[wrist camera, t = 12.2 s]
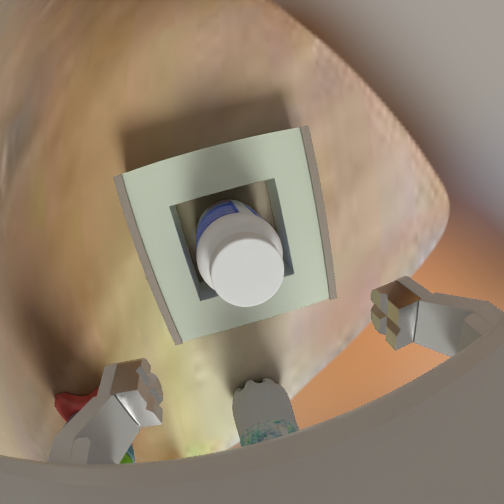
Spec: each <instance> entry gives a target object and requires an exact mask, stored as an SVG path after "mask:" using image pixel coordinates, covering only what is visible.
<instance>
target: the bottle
mask: <svg viewBox="0 0 504 504" xmlns="http://www.w3.org/2000/svg"><path fill="white" fill-rule="evenodd" d="M232 409H233V416H234V420H235V424H236V427H237V430H238V434H239V437H240V443H241V447H243V446H247V445H251V444H255V443H259V442H262V441H266V440H270V439H273V438H276V437H280V436H283V435H286V434H289V433H293V432H296V431H299V428H298V426H297V423H296V420H295V416H294V413H293V409H292V406H291V402H290V399H289V397H288V395H287V392H286V391H285V389H284V388H283V387H282V386H281V385H279V384H275V383H274V382H273V381H272V380H271V379H268V378H264V379H263V380H262V383H255V382H254V381H253V380H249V381H247V382H246V384H245V387H244V389H241V388H239V389H237V390H236V391H235V393H234V396H233V405H232Z"/></svg>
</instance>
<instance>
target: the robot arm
mask: <svg viewBox="0 0 504 504" xmlns="http://www.w3.org/2000/svg"><path fill="white" fill-rule="evenodd" d="M371 301H372V302H373V303H374V305H373V307H372V309H371V319H372V323H373V325H374V327H375V329H376V330H377V331H378V332H379V333H380V334H384V335H386V341H387V342H388V343H389V344H390V345H391V346H392V348H393V349H394V350H397V349H400V348H401V347H404V346H406V345H408V344H410V343H412V342H414V343H416V344H419V345H421V346H424V347H426V348H429V349H432V350H435V351H437V352H440V353H442V354H445V355H448V356H450V357H451V358H449V359H448V360H446V361H445V362H443V363H441V364H440V365H438V366H437V367H435V368H433V369H432V370H430V371H428V372H427V373H425V374H423V375H421V376H420V377H418V378H416V379H414V380H413V381H411V382H409V383H407V384H405V385H403V386H402V387H400V388H398V389H396V390H394V391H392V392H390V393H388V394H386V395H384V396H382V397H380V398H378V399H376V400H374V401H371V402H369V403H367V404H365V405H363V406H361V407H358V408H356V409H354V410H352V411H349V412H347V413H344V414H342V415H339V416H337V417H334V418H332V419H329V420H327V421H324V422H321V423H319V424H316V425H313V426H310V427H307V428H305V429H302V430H299V431H296V432H293V433H289V434H286V435H283V436H280V437H276V438H273V439H270V440H266V441H262V442H259V443H255V444H251V445H247V446H243V447H239V448H235V449H230V450H225V451H221V452H216V453H210V454H205V455H199V456H193V457H187V458H180V459H172V460H164V461H154V462H143V463H128V464H119V463H120V461H121V460H122V458H123V457H124V455H125V453H126V452H127V450H128V448H129V447H130V445H131V444H132V442H133V440H134V439H135V437H136V435H137V434H138V432H139V431H140V428H142V427H148V426H154V425H160V424H162V408H161V407H160V405H159V404H160V403H161V402H162V400H163V392H162V387H161V384H160V382H159V379H158V378H157V376H156V375H155V374H153V373H151V372H150V370H151V366H150V364H149V362H148V361H147V359H145V358H141V359H136V360H131V361H125V362H119V363H114V364H109V365H107V366H105V368H104V372H103V375H102V379H101V382H100V386H99V389H98V393H97V397H93V398H92V399H91V400H90V401H89V402H88V403H87V404H86V405H85V406H84V407H83V408H82V409H81V410H80V411H79V412H78V413H77V414H76V415H75V416H74V417H73V418H72V419H71V420H70V421H69V422H68V423H67V424H66V425H65V426H64V427H63V428H62V430H61V431H60V432H59V433H58V434H57V435H56V436H55V437H54V441H53V444H52V448H51V451H50V455H49V459H48V462H43V461H35V460H27V459H20V458H14V457H8V456H3V455H0V504H504V312H503V311H501V310H500V309H499V308H497V307H496V306H494V305H493V304H492V303H490V302H488V301H483V300H477V299H471V298H465V297H459V296H453V295H447V294H441V293H434V294H432V293H431V292H429V291H428V290H427V289H425V288H424V287H422V286H421V285H419V284H418V283H417V282H415V281H414V280H412V279H411V278H410V277H408V276H404V277H401V278H399V279H397V280H395V281H393V282H391V283H389V284H386V285H384V286H381V287H379V288H376V289H373V290H372V292H371Z"/></svg>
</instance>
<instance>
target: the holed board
mask: <svg viewBox="0 0 504 504" xmlns="http://www.w3.org/2000/svg"><path fill="white" fill-rule="evenodd" d="M113 179H114V182H115V186H116V189H117V193H118V196H119V199H120V203H121V206H122V209H123V212H124V215H125V218H126V221H127V224H128V227H129V230H130V233H131V236H132V239H133V242H134V245H135V248H136V250H137V253H138V256H139V259H140V261H141V264H142V267H143V269H144V272H145V275H146V277H147V280H148V282H149V285H150V287H151V290H152V292H153V295H154V297H155V300H156V302H157V304H158V307H159V309H160V311H161V314H162V316H163V318H164V321H165V323H166V325H167V327H168V330H169V332H170V334H171V336H172V339H173V341H174V343H175V345H179V344H182V342H183V341H187V340H191V339H195V338H199V337H203V336H206V335H210V334H214V333H218V332H221V331H225V330H229V329H232V328H236V327H239V326H243V325H246V324H250V323H253V322H257V321H260V320H263V319H267V318H270V317H273V316H277V315H280V314H283V313H286V312H289V311H292V310H296V309H299V308H302V307H305V306H308V305H311V304H314V303H317V302H320V301H323V300H326V299H330V300H332V299H335V298H337V293H336V284H335V276H334V268H333V260H332V253H331V246H330V239H329V232H328V225H327V219H326V213H325V207H324V201H323V195H322V190H321V184H320V179H319V174H318V168H317V163H316V158H315V153H314V149H313V144H312V139H311V135H310V130H309V126H304V127H298V128H293V129H287V130H282V131H277V132H272V133H267V134H262V135H257V136H253V137H248V138H244V139H239V140H235V141H231V142H227V143H223V144H219V145H215V146H211V147H207V148H203V149H200V150H196V151H193V152H189V153H186V154H182V155H179V156H175V157H172V158H169V159H165V160H162V161H159V162H156V163H153V164H150V165H147V166H144V167H141V168H138V169H135V170H132V171H129V172H126V173H123V174H120V175H118V176H115V177H113ZM263 180H265V181H266V185H267V190H268V194H269V198H270V203H271V207H272V212H273V216H274V221H275V226H276V230H277V234H278V236H279V238H280V241H281V244H282V249H283V263H284V277H283V280H282V283H281V285H280V287H279V289H278V290H277V292H276V293H275V294H274V295H273V296H272V297H271V298H270V299H268V300H267V301H265V302H263V303H261V304H258V305H255V306H250V307H241V306H236V305H233V304H230V303H228V302H227V301H225V300H224V299H222V298H221V297H220V296H219V295H218V294H217V292H216V291H215V290H214V289H212V288H211V287H210V286H209V285H208V284H207V283H206V282H205V281H204V282H199V279H198V276H197V273H196V270H195V267H194V264H193V261H192V258H191V255H190V252H189V249H188V246H187V242H186V239H185V236H184V233H183V230H182V226H181V223H180V220H179V216H178V213H177V210H176V206H175V204H179V203H182V202H185V201H189V200H192V199H196V198H199V197H203V196H206V195H210V194H214V193H217V192H221V191H225V190H228V189H232V188H236V187H240V186H244V185H247V184H251V183H255V182H259V181H263Z"/></svg>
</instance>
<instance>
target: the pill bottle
mask: <svg viewBox="0 0 504 504" xmlns="http://www.w3.org/2000/svg"><path fill="white" fill-rule="evenodd" d="M196 257H197V265H198V269H199V272H200V274H201V276H202V278H203V279H204V281H205V282H206V283H207V284H208V285H209V286H210V287H211V288H212V289H214V290H215V291H216V292H217V294H218V295H219V296H220V297H221V298H222V299H224V300H225V301H227V302H228V303H230V304H233V305H236V306H241V307H250V306H255V305H258V304H261V303H263V302H265V301H267V300H268V299H270V298H271V297H272V296H273V295H274V294H275V293H276V292H277V290H278V289H279V287H280V285H281V283H282V280H283V277H284V263H283V249H282V244H281V241H280V238H279V236H278V234H277V233H276V231H275V230H274V229H273V227H272V226H271V225H270V224H269V223H268V222H267V221H265V220H264V219H263V218H262V217H261V216H260V215H259V214H257V213H256V212H255V211H254V210H253V209H252V208H251V207H250V206H248V205H247V204H245V203H243V202H240V201H237V200H222V201H218V202H216V203H214V204H212V205H211V206H209V207H208V208H207V209H206V210H205V211H204V212H203V214H202V215H201V217H200V219H199V221H198V224H197V230H196Z"/></svg>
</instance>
